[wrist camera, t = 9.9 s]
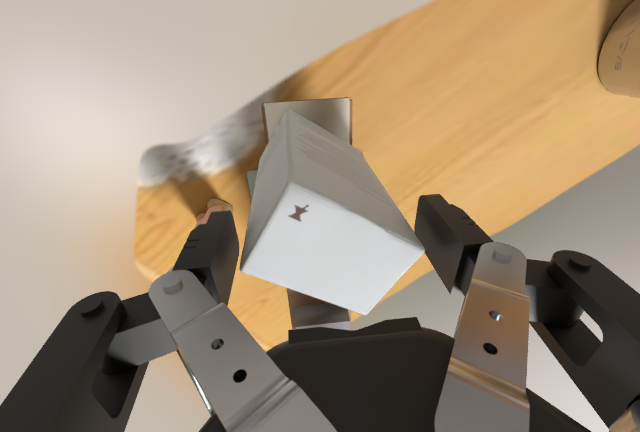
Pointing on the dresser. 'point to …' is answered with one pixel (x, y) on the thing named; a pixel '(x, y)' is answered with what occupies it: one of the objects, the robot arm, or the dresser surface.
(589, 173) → the dresser surface
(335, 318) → the beam
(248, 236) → the skincare box
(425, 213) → the robot arm
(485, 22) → the dresser surface
